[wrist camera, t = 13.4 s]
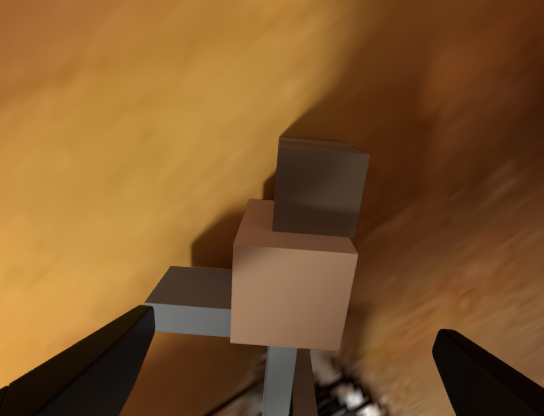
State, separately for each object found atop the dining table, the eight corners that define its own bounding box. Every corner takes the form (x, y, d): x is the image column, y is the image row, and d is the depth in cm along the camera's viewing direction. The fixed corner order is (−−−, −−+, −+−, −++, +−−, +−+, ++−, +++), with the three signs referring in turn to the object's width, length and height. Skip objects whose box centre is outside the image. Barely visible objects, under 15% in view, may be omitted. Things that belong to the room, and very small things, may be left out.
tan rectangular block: (319, 275, 15) (339, 351, 10) (246, 269, 15) (230, 342, 10) (330, 204, 13) (358, 254, 9) (249, 198, 13) (233, 244, 9)
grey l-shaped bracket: (281, 392, 18) (281, 465, 14) (181, 384, 18) (155, 455, 14) (295, 268, 15) (301, 320, 11) (175, 259, 15) (140, 307, 11)
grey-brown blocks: (298, 425, 20) (303, 511, 15) (256, 422, 20) (250, 507, 15) (341, 141, 13) (370, 154, 9) (279, 136, 13) (278, 147, 9)
